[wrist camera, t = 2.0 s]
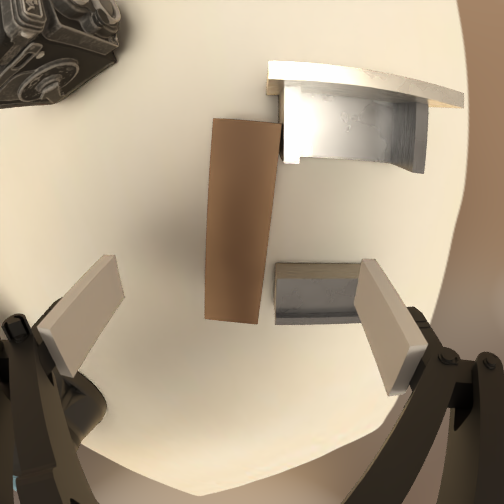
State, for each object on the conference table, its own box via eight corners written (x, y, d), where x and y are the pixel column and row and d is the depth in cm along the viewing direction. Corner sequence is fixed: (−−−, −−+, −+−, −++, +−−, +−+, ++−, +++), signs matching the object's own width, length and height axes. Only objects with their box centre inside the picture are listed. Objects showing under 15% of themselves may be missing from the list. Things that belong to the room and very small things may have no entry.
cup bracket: (266, 151, 25) (268, 170, 16) (266, 83, 22) (268, 61, 13) (396, 160, 24) (457, 185, 15) (399, 97, 22) (463, 93, 13)
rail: (214, 283, 31) (204, 318, 25) (224, 118, 24) (213, 118, 18) (258, 287, 31) (257, 324, 25) (277, 123, 24) (281, 124, 18)
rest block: (274, 302, 31) (275, 324, 28) (275, 263, 29) (277, 283, 26) (366, 300, 31) (376, 322, 27) (373, 263, 29) (386, 282, 25)
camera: (149, 57, 21) (43, 16, 8) (62, 114, 23) (-56, 134, 9) (118, -18, 17) (29, -77, 4) (39, 40, 19) (-65, 29, 6)
